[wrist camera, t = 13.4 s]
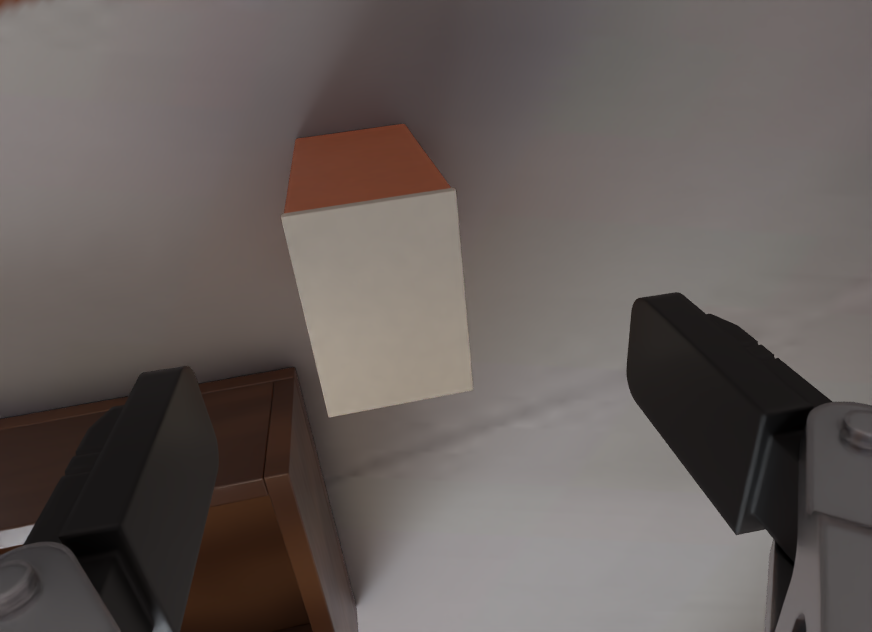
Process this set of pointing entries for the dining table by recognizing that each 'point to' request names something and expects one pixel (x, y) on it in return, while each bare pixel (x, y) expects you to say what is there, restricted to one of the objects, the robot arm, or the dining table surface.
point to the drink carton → (377, 269)
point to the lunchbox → (219, 507)
